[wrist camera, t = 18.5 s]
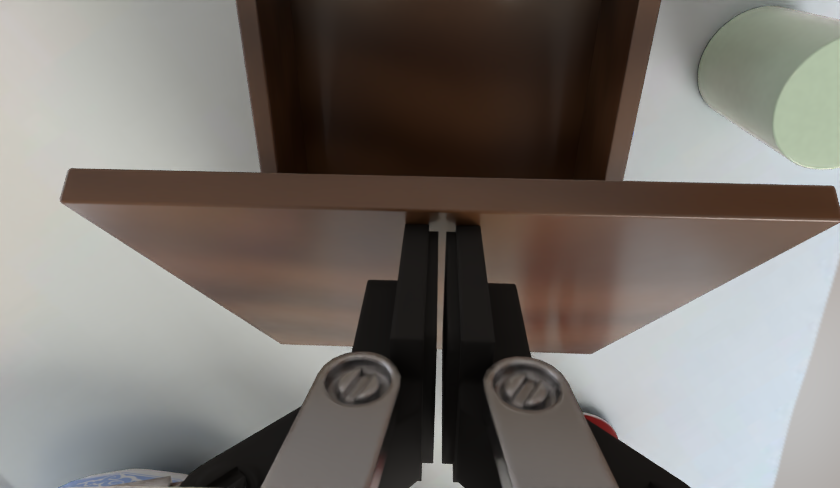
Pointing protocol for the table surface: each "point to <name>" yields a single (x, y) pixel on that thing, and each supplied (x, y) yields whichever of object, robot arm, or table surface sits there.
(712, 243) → the lid
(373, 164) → the wooden box
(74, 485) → the ramen bowl
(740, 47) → the jar
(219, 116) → the table surface
